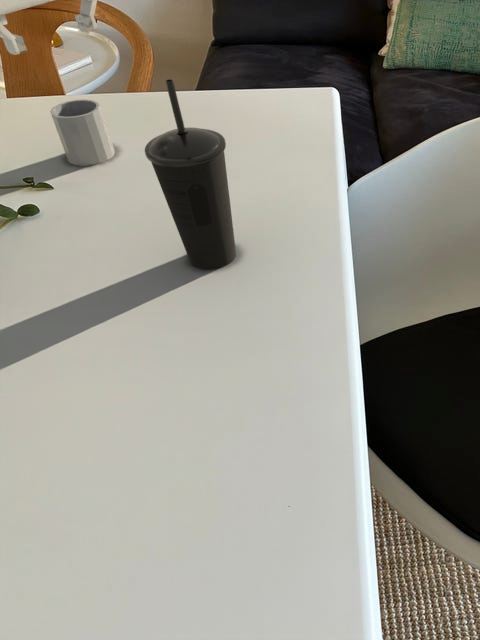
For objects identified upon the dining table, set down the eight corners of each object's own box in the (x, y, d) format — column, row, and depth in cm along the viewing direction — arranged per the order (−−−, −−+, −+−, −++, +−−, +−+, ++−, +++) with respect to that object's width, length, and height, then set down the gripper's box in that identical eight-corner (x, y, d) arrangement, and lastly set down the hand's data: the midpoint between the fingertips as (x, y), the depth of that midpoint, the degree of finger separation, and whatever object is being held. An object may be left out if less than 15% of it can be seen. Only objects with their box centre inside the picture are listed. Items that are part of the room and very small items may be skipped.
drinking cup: (264, 252, 87) (228, 73, 74) (219, 287, 82) (172, 102, 69) (209, 236, 89) (165, 60, 76) (162, 269, 84) (107, 87, 71)
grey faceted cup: (63, 170, 101) (44, 118, 97) (75, 150, 106) (57, 100, 101) (110, 168, 102) (93, 116, 97) (119, 148, 106) (104, 98, 102)
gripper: (75, -108, 93) (111, 13, 102) (-101, -75, 80) (-42, 60, 89) (109, -102, 90) (142, 22, 99) (-68, -67, 77) (-10, 72, 86)
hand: (54, 41), depth 94 cm, fingers open, 8 cm apart
